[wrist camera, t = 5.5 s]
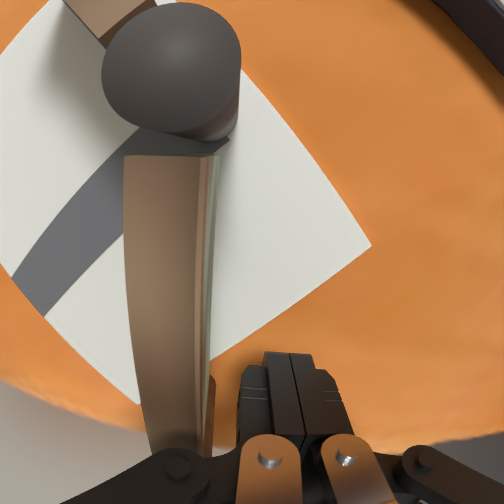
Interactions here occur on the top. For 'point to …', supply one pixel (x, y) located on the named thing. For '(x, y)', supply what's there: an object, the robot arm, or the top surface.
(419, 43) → the top surface
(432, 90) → the top surface
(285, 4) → the top surface
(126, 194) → the panel
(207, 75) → the fence fixed section
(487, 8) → the calculator
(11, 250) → the card
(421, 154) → the top surface
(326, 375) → the robot arm
